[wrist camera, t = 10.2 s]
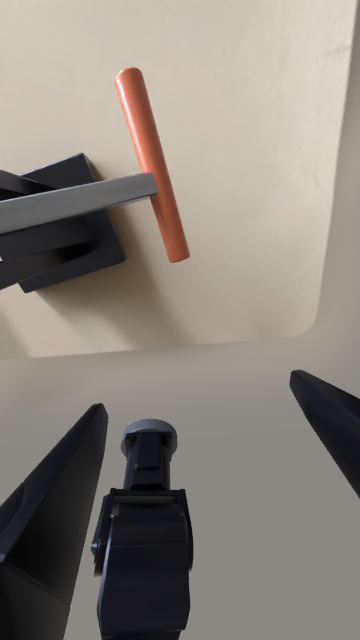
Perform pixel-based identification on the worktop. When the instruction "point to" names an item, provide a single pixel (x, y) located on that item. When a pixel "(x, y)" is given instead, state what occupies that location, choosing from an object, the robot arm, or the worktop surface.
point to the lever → (112, 180)
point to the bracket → (56, 232)
